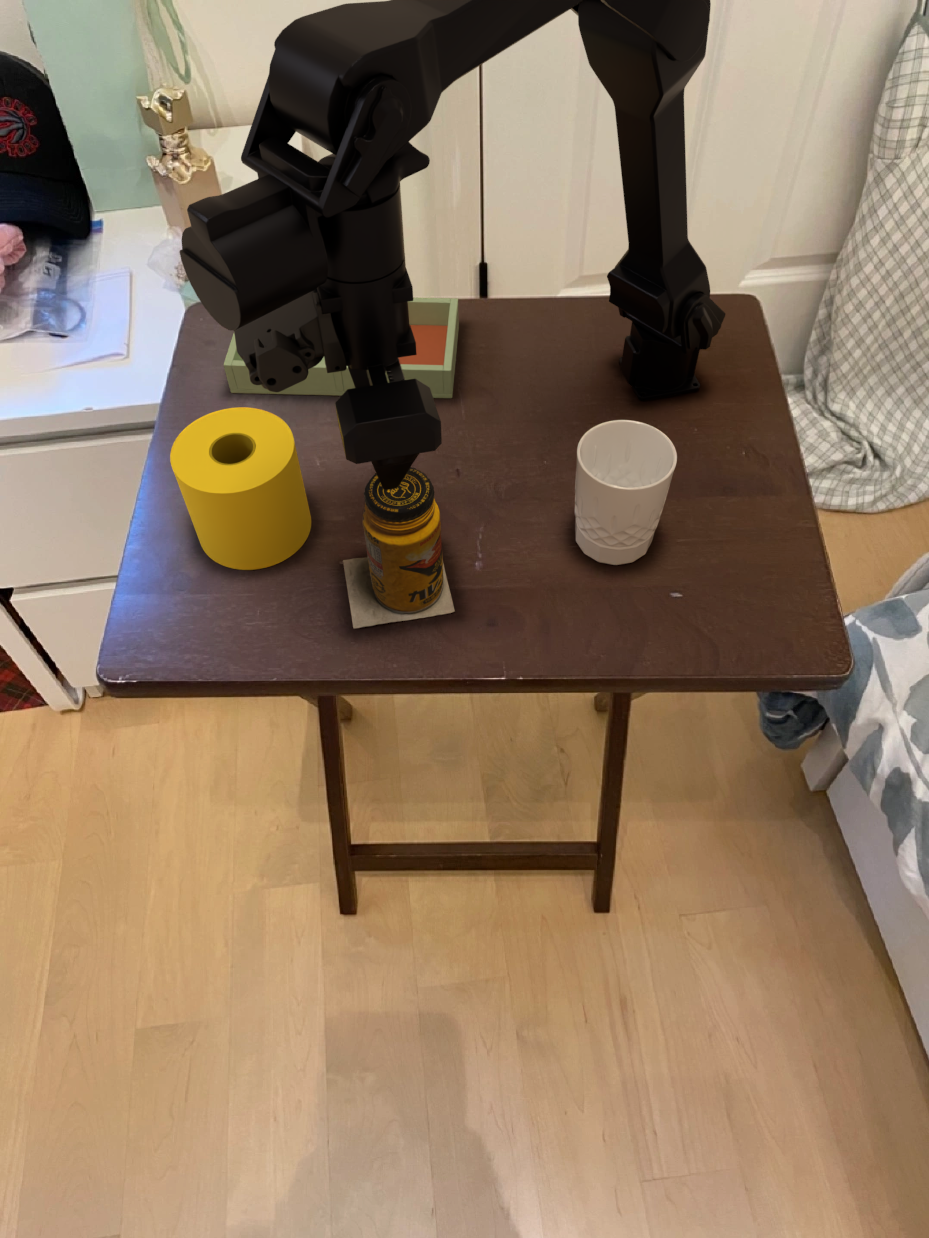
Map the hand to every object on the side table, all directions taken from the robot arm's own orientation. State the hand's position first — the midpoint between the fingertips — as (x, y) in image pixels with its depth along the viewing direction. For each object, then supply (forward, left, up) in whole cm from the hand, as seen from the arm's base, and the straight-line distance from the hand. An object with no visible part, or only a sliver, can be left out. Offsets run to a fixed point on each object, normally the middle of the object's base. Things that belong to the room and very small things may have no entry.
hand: (379, 445), depth 70 cm
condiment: (0, +3, -14) cm, 14 cm away
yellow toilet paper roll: (+11, -7, -14) cm, 19 cm away
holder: (-1, -28, -13) cm, 31 cm away
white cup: (-19, +2, -14) cm, 24 cm away
